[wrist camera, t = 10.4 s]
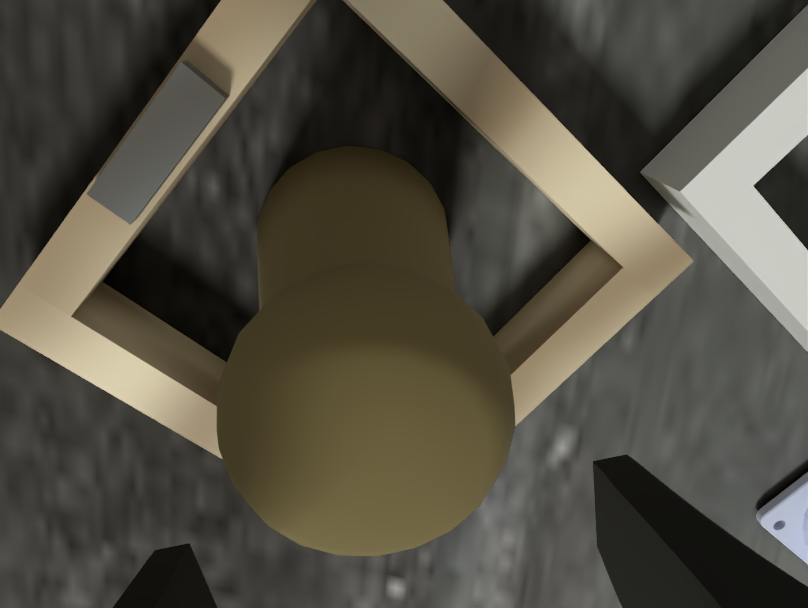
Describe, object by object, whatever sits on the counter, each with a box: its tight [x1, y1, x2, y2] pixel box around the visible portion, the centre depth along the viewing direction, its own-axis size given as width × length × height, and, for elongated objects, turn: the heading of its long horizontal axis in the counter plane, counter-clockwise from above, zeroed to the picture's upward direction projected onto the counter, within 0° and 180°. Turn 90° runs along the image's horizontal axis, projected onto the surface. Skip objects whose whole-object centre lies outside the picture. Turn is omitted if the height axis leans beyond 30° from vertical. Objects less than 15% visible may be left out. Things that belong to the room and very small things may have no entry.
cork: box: [216, 146, 515, 556], centre depth 14 cm, size 6×6×11 cm
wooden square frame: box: [0, 0, 693, 459], centre depth 18 cm, size 14×14×3 cm
